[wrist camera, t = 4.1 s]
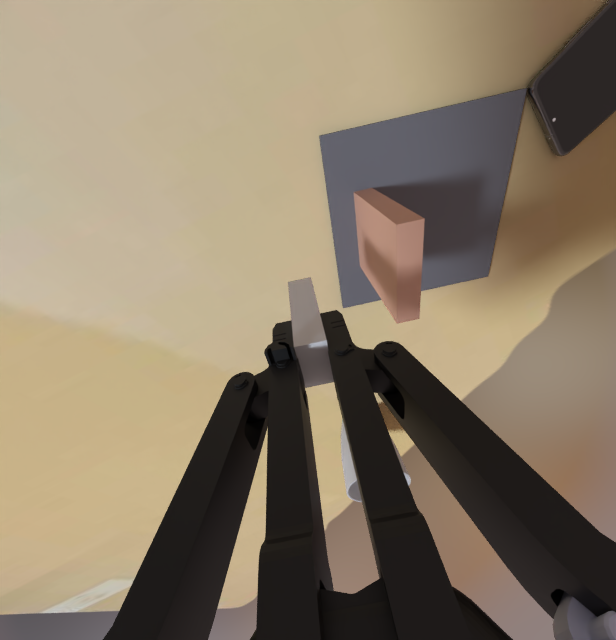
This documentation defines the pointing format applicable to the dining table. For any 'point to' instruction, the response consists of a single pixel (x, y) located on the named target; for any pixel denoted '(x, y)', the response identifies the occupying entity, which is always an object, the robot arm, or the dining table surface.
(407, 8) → the dining table surface
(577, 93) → the smartphone
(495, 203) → the mat
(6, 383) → the dining table surface
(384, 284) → the slab
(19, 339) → the dining table surface
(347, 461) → the cup
